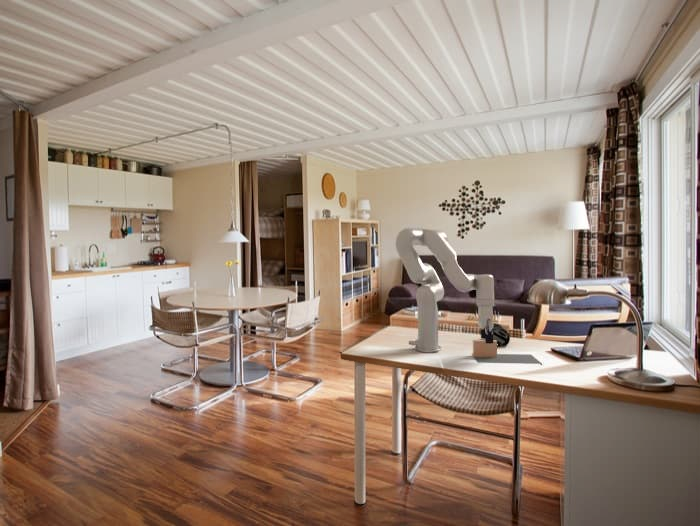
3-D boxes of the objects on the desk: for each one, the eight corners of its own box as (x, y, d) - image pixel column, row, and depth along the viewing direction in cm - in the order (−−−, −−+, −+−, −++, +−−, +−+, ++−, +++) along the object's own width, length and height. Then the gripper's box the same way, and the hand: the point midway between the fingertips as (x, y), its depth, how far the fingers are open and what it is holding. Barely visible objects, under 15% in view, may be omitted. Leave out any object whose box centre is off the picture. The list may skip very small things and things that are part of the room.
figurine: (514, 335, 197) (505, 326, 217) (496, 325, 198) (489, 318, 218) (504, 351, 198) (496, 341, 218) (487, 342, 199) (481, 333, 219)
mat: (477, 363, 173) (477, 362, 173) (471, 354, 187) (471, 353, 187) (542, 364, 170) (542, 363, 170) (531, 355, 184) (531, 354, 184)
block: (473, 356, 182) (473, 341, 181) (472, 355, 184) (472, 339, 183) (497, 357, 180) (497, 341, 180) (495, 355, 183) (495, 340, 182)
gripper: (473, 300, 190) (474, 336, 190) (480, 305, 173) (482, 345, 173) (489, 299, 189) (491, 336, 189) (499, 304, 172) (500, 345, 172)
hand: (486, 340), depth 181 cm, fingers open, 9 cm apart
